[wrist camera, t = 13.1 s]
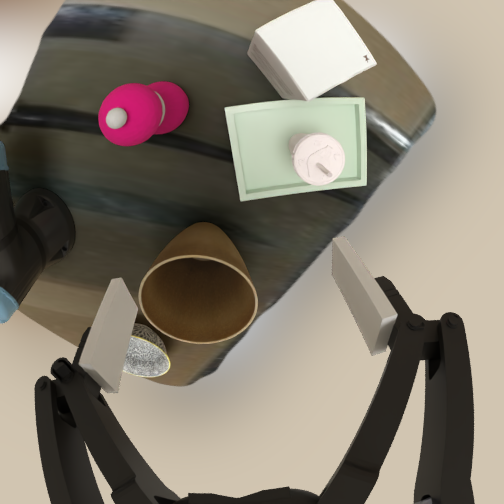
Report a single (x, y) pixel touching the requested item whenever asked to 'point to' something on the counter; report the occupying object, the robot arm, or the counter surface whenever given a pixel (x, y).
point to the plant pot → (199, 288)
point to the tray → (277, 139)
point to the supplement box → (309, 51)
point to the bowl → (146, 353)
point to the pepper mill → (142, 112)
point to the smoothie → (316, 157)
